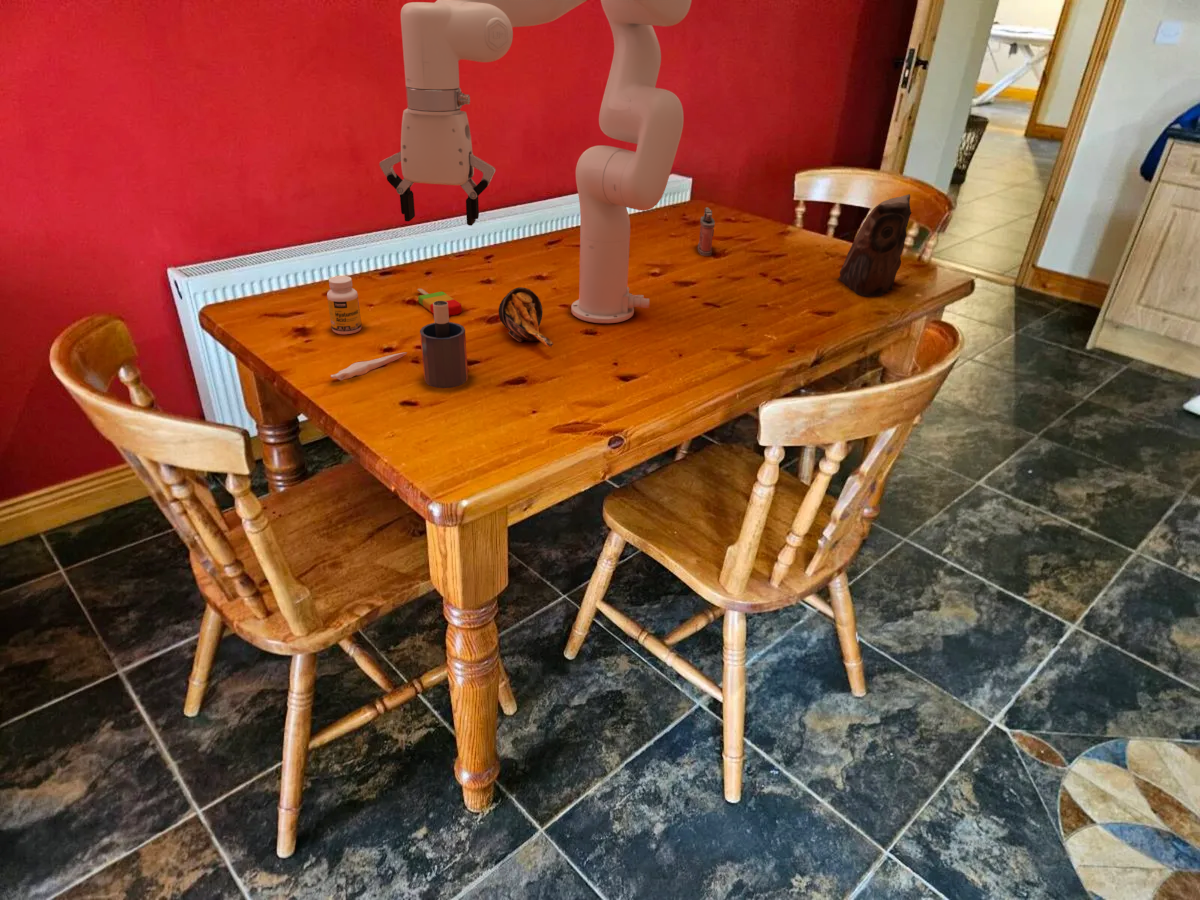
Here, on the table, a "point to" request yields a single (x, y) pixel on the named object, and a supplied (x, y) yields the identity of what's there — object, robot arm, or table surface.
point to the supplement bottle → (343, 306)
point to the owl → (877, 249)
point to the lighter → (706, 233)
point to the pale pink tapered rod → (365, 366)
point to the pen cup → (444, 356)
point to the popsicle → (429, 299)
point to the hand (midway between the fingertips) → (440, 221)
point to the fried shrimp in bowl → (523, 315)
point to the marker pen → (441, 319)
